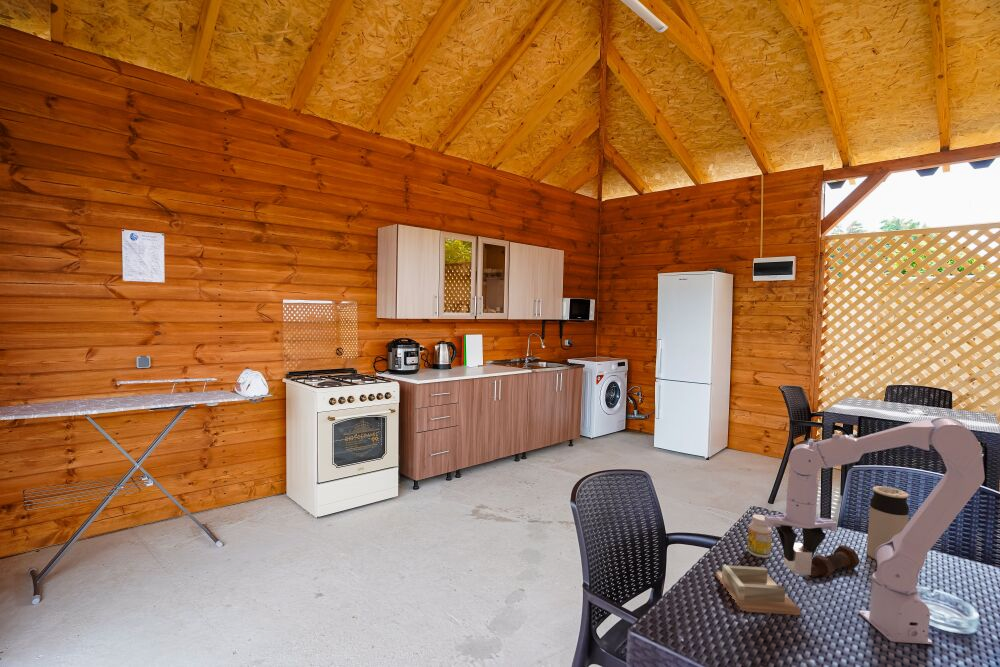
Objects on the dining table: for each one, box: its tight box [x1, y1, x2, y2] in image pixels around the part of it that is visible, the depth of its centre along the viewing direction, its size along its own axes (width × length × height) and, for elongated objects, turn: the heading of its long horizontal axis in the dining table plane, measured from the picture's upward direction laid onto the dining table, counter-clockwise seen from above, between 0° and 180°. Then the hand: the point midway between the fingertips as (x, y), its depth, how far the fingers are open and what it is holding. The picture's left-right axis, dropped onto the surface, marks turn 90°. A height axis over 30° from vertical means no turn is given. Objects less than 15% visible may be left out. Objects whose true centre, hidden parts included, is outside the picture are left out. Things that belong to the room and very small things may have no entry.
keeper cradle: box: [715, 564, 802, 616], centre depth 112 cm, size 14×12×4 cm
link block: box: [783, 542, 813, 576], centre depth 111 cm, size 4×4×5 cm
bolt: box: [809, 544, 861, 578], centre depth 123 cm, size 6×5×15 cm
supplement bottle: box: [747, 513, 773, 559], centre depth 131 cm, size 5×5×10 cm
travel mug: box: [866, 485, 910, 561], centre depth 131 cm, size 8×8×18 cm
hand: (797, 559), depth 111 cm, fingers closed on link block, 3 cm apart
